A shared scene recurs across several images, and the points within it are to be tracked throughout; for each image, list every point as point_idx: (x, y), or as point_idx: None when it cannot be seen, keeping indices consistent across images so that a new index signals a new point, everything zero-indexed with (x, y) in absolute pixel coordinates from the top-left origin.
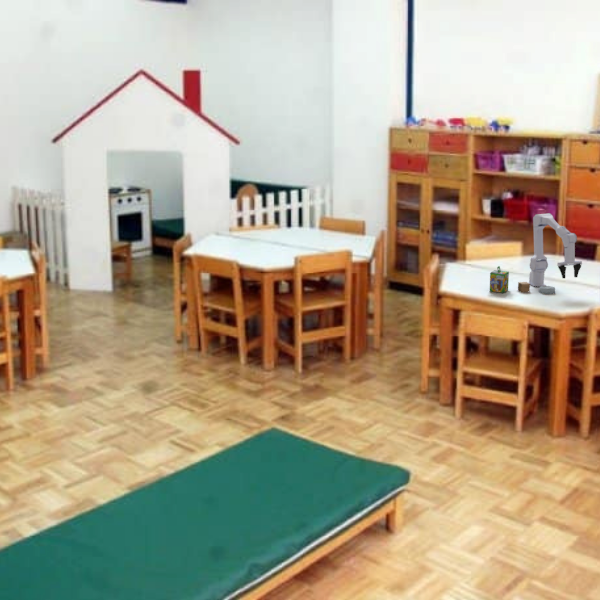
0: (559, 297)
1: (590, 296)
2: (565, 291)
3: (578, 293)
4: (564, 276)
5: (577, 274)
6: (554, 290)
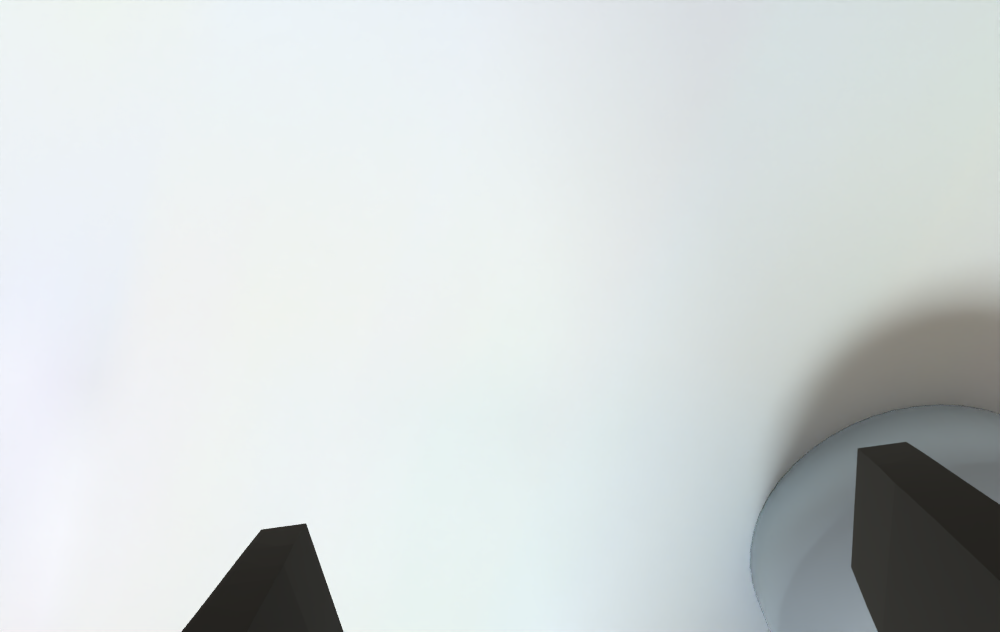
0: (880, 71)
1: (67, 104)
2: (501, 573)
3: (281, 401)
4: (959, 481)
5: (212, 612)
6: (827, 492)
